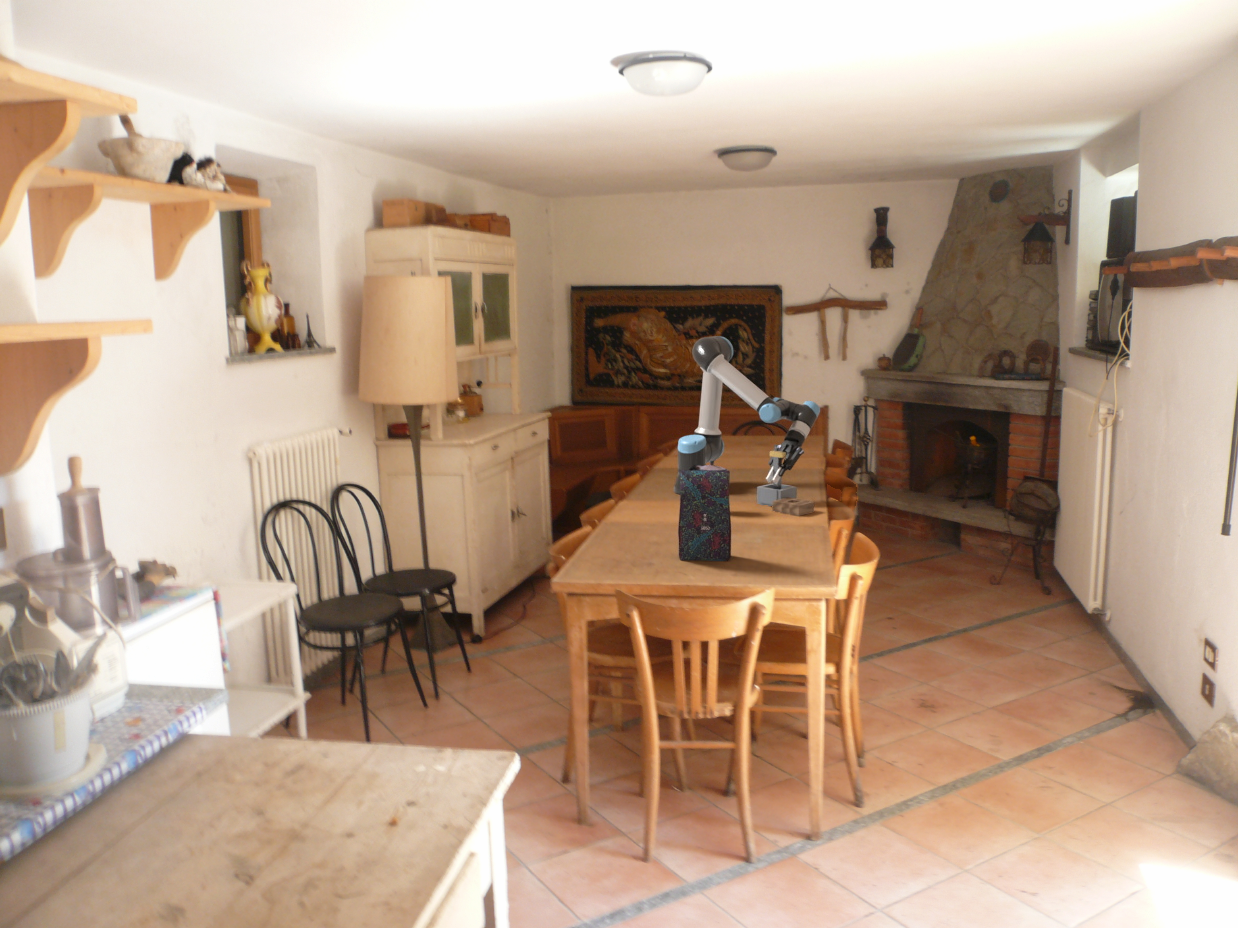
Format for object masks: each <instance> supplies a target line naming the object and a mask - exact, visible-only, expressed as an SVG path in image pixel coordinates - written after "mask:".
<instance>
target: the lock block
mask: <svg viewBox="0 0 1238 928" xmlns="http://www.w3.org/2000/svg"><path fill="white" fill-rule="evenodd" d="M773 511H775V512H774V513H778V512H780V514H784V513H785V515H789V514H791V516H795V517H800V516H804V515H805V516H806V515H809V514H812V513H814V512H815V501H812V500H807V499H801V498H797V499H796V498H790V497H787V498H783V499H779V500H775V501H773V507H772V512H773ZM811 512H812V513H811Z"/></svg>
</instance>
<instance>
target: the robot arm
mask: <svg viewBox="0 0 1238 928" xmlns="http://www.w3.org/2000/svg"><path fill="white" fill-rule="evenodd" d="M691 353H692V357H693V360H694V362H696V364H697V365H698V366H699V368H700V369H701V371H702V372H703V373H702V381H701V382H702V383H701V395H700V404H699V405H700V406H699V416H698V417H699V418H698V426H697V428H696V429H695V430H694V434H689V435H684V436H682V437H680V438H679V439H678V444H677V476H676V480H675V483H674V486H673V492H674V493H675V494H677V495H678V494H679V495H680V472H681V470H689V469H690V468H691V467H692V466H693V465H696V466H706V464H708V463H709V464H710V461H714V462H715V461H716V460H718V459H719V458H720V457H721V456H722V455H723V453H724V451H725V443H724V440H723V439H722V431H721V430H720V428H719V427H720V426H719V425H720V415H721V407H722V406H721V405H722V394H723V384H724V385H725V386H726V387H727V388H729V389H730V390H731V391H732V392H733V393H735V395H737V396H738V397H739V398H740V399H742V400H743V401H744V402H745V403H747V405H749V406H750V408H752V409H754V410H755V411H756V412H757V413H758V414H759V418H760V420H761V421H763V422H764V423H767V424H772V423H777V422H778V421H782V420H787V421H790V422H792V424H791V426H789V429H788V431H787V433H786V434H785V436H784V440H783V442H781V444H779V445H778V444H774V446H773V447H774V448H773V450H774V451H781V452H786V457H784V458H782V465H781V466H782V468H781V467H779V469H778V470H777V472H776V474H775V476H774V478H773V457H772V456H770V457H769V461H768V463H767V464H768V465H769V467H770V468H769V470H768V474H767V476H766V477H765V480H766V481H767V483H768V484H772V483H773V482H774V483H775V484H777V483H778V481H779V479H780V477H783V476H784V474H785V473H786V471H791V470H792V469H793V468H794V467H795V464H796V463H797V462H798V460H799V459H800V457H801V456H802V455H803V454H804V453H805V450H804V449H803V448H802V446H803V445H804V442H805V440H806V439H807V437H808V435H809V434H810V431H811V429H812V428H813V426H814V425H815V422H816V420H818V417H819V415H820V413H821V408H820V406H819V405H818V404H817V403H816V402H814V401H812V400H805V401H804V402H803V403H802V404H800V403H796V402H793V401H790V400H787V399H784V398H781V397H778V396H777V397H773V398H771V397H770V396H769V395H768V394H766V393H765V391H763V390H762V389H760V388H759V387H758V386H757V385H756V384H754V383H753V382H752V380H750V379H748V378H747V377H746V376H745V375H744V374H743V373H742V372H740V371H739V370H738V369H737V368H735V366H733V365H732V364H731V363H729V362H730V361H731V359H732V358H733V356H734V347H733V344H732V343H731V341H730V340H729V339H727V338H726V337H724V336H720V335H719V336H718V335H717V336H716V335H714V336H705V337H702V338H699V339H697V341H695V343H694V344H693V347H692V351H691ZM693 470H694V469H693ZM771 482H772V483H771Z"/></svg>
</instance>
